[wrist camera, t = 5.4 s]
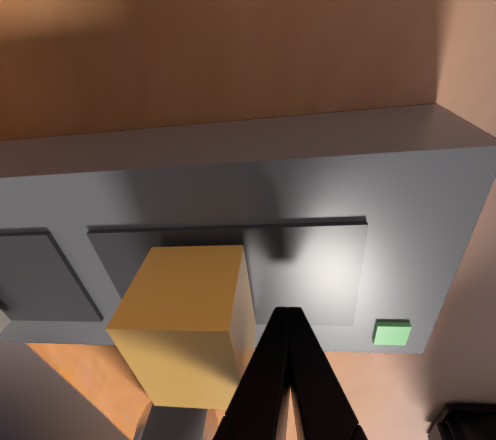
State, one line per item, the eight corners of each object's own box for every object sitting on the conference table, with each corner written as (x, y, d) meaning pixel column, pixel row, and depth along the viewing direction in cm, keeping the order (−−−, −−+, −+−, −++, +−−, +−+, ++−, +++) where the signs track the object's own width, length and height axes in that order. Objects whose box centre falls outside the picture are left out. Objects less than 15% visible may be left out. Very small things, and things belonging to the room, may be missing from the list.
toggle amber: (243, 245, 9) (228, 331, 6) (256, 324, 11) (248, 411, 9) (151, 247, 9) (105, 329, 7) (181, 323, 12) (154, 405, 9)
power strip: (436, 103, 10) (513, 147, 7) (393, 281, 15) (424, 358, 12) (-91, 148, 13) (-219, 194, 10) (17, 283, 19) (-43, 344, 15)
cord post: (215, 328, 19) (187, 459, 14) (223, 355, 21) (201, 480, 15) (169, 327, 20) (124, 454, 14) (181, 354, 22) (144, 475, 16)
